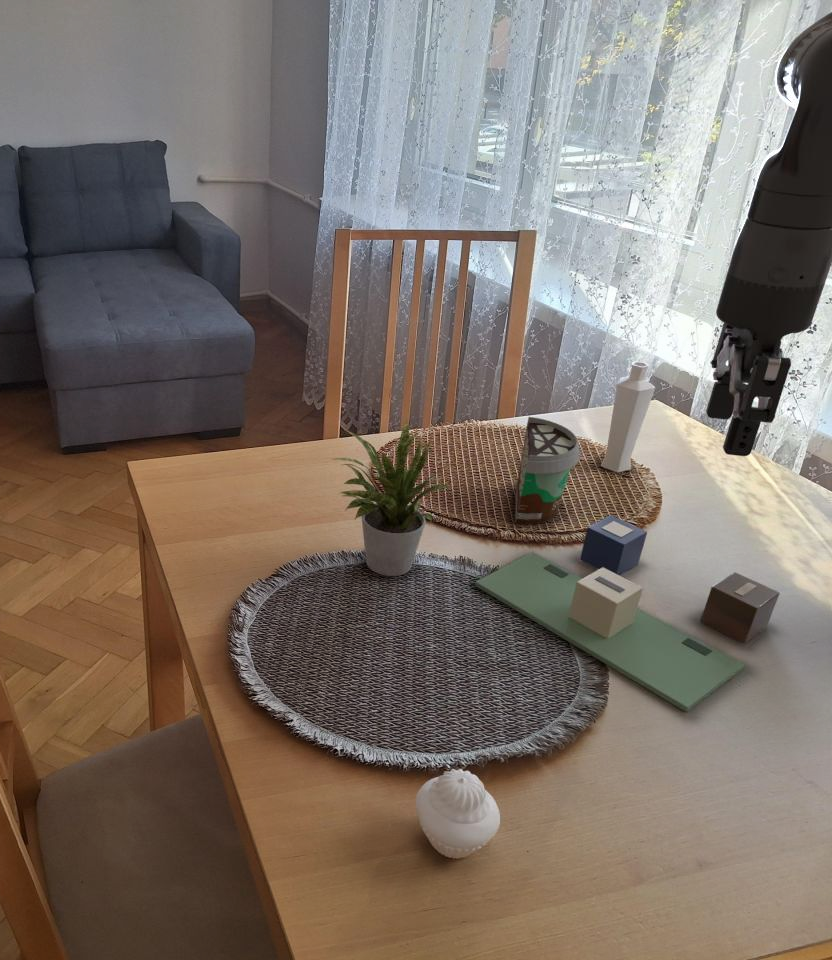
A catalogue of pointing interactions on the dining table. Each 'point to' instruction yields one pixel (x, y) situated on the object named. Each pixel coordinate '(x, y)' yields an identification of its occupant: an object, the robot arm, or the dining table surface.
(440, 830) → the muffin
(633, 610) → the cream block
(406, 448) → the house plant
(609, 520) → the navy block
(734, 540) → the dining table surface
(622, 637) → the green board
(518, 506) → the food container
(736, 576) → the walnut block
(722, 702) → the dining table surface
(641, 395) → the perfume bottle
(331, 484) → the dining table surface
